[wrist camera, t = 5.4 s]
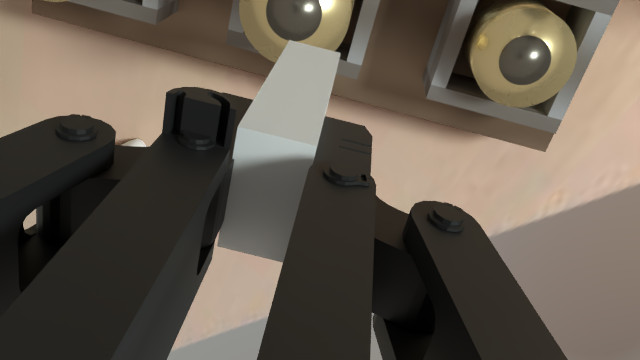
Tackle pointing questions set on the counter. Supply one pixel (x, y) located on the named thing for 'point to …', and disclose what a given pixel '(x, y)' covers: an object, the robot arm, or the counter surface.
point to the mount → (365, 54)
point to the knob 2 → (519, 51)
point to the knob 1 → (55, 0)
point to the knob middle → (294, 23)
